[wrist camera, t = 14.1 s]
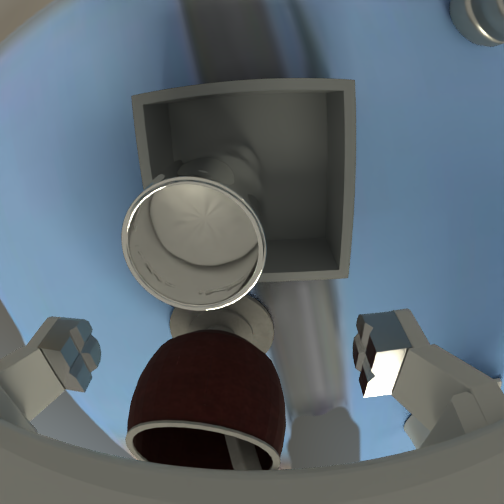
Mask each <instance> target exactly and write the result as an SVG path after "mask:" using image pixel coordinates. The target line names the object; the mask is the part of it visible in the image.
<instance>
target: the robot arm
mask: <svg viewBox="0 0 504 504" xmlns="http://www.w3.org/2000/svg"><path fill="white" fill-rule="evenodd" d="M356 327H357V330H358V334H357V335H356V336H355V337H354V342H353V359H354V364H355V368H356V369H357V370H359V371H360V372H361V373H360V377H359V382H360V386H361V389H362V393H363V396H364V397H372V396H379V395H386V394H392V396H393V397H394V398H395V399H396V400H397V401H398V402H399V403H401V404H402V405H403V406H404V407H405V408H406V409H407V410H408V411H409V412H410V413H411V414H412V415H411V416H410V417H409V419H408V420H407V421H406V423H405V425H404V431H405V432H406V433H407V435H408V436H409V437H410V439H411V441H412V442H413V444H414V446H415V448H416V450H412V451H408V452H404V453H400V454H395V455H391V456H386V457H381V458H376V459H371V460H366V461H360V462H354V463H347V464H340V465H332V466H324V467H314V468H302V469H285V470H221V469H204V468H192V467H182V466H174V465H166V464H159V463H152V462H146V461H140V460H134V459H128V458H124V457H119V456H114V455H110V454H106V453H101V452H97V451H93V450H89V449H86V448H82V447H79V446H75V445H72V444H68V443H65V442H62V441H59V440H56V439H53V438H50V437H47V436H44V435H41V434H38V433H37V430H36V428H35V427H34V426H33V425H32V424H31V423H30V421H31V420H32V419H33V418H35V417H36V416H37V415H38V414H39V413H40V412H41V411H42V410H43V409H45V408H46V407H47V406H48V405H49V404H50V403H51V402H52V401H54V400H55V399H56V398H57V397H58V396H59V395H60V394H62V393H63V392H64V391H65V389H67V390H73V391H79V392H85V391H86V389H87V387H88V385H89V383H90V381H91V379H92V375H91V372H92V371H93V370H95V369H96V368H97V367H98V365H99V363H100V359H101V349H100V345H99V343H98V341H97V339H96V338H94V337H93V336H92V335H91V333H92V330H93V329H92V327H91V325H90V323H89V321H87V320H85V319H75V318H65V317H62V318H61V317H53V316H52V317H49V318H47V319H46V320H45V322H44V323H43V324H42V325H41V327H40V328H39V329H38V331H37V332H36V333H35V335H34V336H33V337H32V339H31V340H30V341H29V343H28V344H27V345H26V346H22V347H20V348H18V349H17V350H15V351H13V352H12V353H10V354H8V355H6V356H5V357H3V358H2V359H0V504H504V394H503V392H502V390H501V389H500V388H501V384H502V381H501V379H500V378H497V379H492V378H491V377H489V376H487V375H486V374H484V373H482V372H481V371H479V370H477V369H476V368H474V367H472V366H471V365H469V364H467V363H466V362H464V361H462V360H461V359H459V358H457V357H455V356H454V355H452V354H450V353H449V352H447V351H445V350H444V349H442V348H440V347H439V346H437V345H435V344H433V345H430V343H429V342H428V340H427V338H426V336H425V335H424V333H423V331H422V329H421V328H420V326H419V324H418V322H417V321H416V319H415V317H414V316H413V314H412V312H411V311H410V310H409V309H400V310H393V311H388V312H379V313H370V314H360V315H359V316H358V318H357V324H356Z"/></svg>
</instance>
